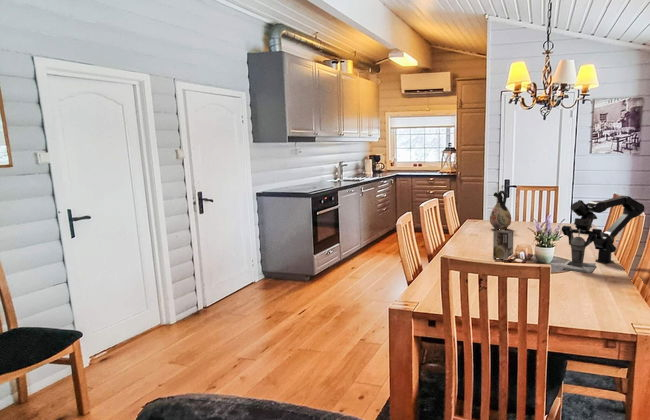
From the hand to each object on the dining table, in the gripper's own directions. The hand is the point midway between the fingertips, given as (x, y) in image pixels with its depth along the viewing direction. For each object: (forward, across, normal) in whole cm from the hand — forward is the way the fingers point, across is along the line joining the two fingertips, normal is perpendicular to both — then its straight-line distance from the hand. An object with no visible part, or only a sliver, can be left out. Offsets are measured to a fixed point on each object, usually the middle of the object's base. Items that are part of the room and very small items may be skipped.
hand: (577, 245), depth 230 cm
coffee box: (+13, -36, +4) cm, 39 cm away
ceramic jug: (-42, -79, +60) cm, 108 cm away
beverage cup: (+7, 0, +9) cm, 11 cm away
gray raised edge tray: (+8, +1, +10) cm, 12 cm away
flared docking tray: (+8, +1, +10) cm, 12 cm away
